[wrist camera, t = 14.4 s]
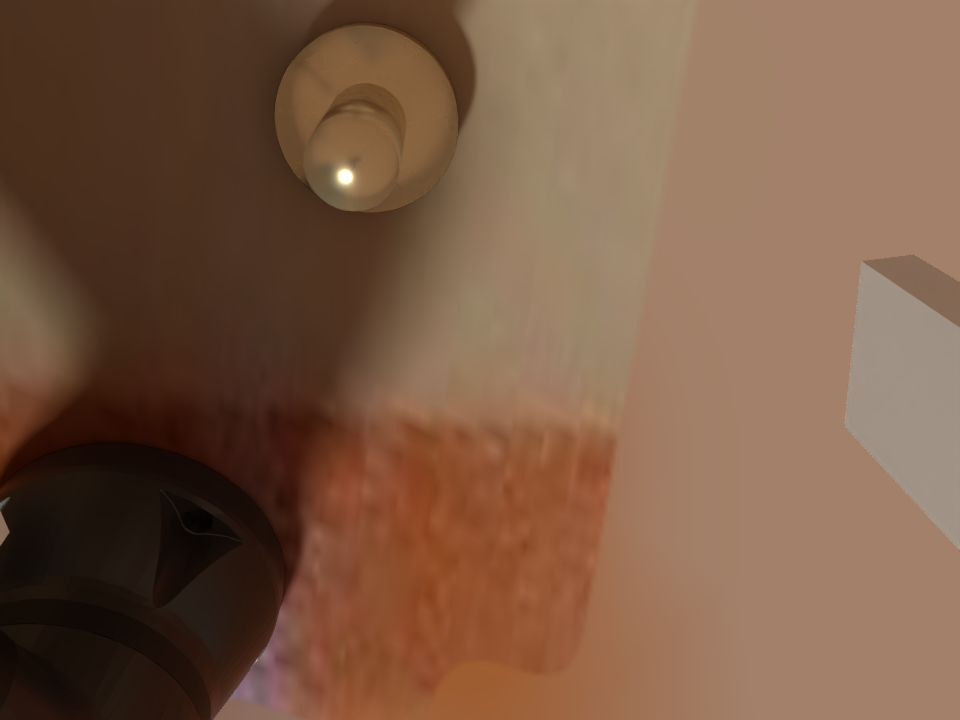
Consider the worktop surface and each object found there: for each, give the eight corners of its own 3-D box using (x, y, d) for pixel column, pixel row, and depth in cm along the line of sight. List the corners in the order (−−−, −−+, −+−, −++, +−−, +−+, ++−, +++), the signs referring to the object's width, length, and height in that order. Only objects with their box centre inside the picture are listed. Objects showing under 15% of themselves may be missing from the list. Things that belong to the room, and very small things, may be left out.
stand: (293, 205, 35) (256, 274, 28) (269, 26, 32) (220, 52, 25) (461, 198, 35) (467, 264, 28) (453, 19, 32) (457, 42, 25)
